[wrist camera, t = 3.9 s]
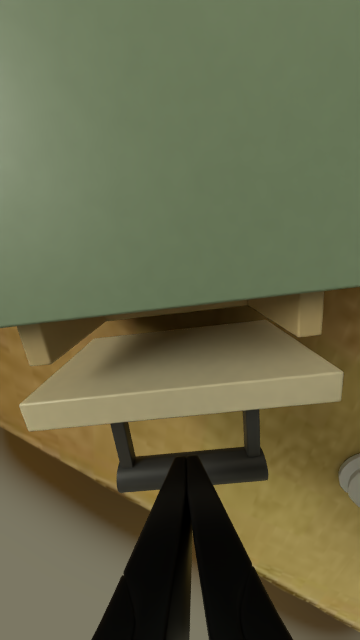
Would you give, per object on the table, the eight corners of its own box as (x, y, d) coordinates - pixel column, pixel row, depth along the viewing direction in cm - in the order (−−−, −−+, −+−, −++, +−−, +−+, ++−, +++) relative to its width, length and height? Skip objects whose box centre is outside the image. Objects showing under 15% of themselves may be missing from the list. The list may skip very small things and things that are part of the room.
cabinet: (269, 270, 14) (405, 282, 5) (80, 292, 14) (-63, 335, 6) (267, -47, 10) (716, -1638, 2) (9, -3, 10) (-689, -1081, 2)
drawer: (266, 402, 15) (331, 508, 9) (112, 417, 16) (63, 529, 9) (263, 81, 10) (404, -226, 4) (40, 114, 11) (-176, -115, 4)
